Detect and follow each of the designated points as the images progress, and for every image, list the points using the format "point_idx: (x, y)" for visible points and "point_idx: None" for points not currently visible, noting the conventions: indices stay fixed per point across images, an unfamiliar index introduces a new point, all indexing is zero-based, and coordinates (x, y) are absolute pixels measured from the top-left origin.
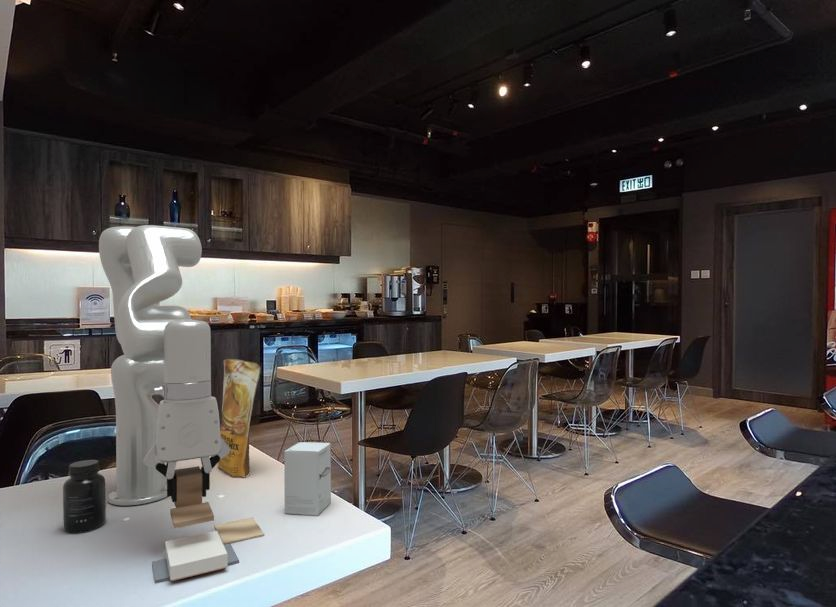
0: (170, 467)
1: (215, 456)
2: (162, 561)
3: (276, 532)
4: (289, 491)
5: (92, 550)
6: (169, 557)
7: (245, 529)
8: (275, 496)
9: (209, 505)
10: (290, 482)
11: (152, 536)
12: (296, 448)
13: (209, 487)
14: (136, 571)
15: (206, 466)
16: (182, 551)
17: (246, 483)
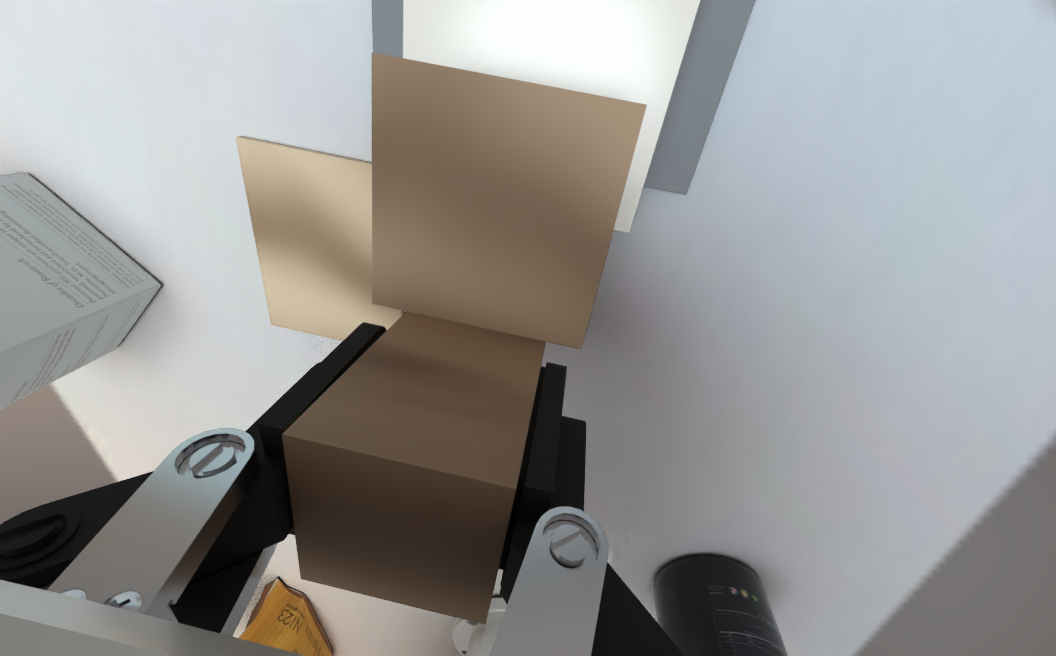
0: (559, 636)
1: (7, 576)
2: (656, 161)
3: (192, 133)
4: (41, 305)
5: (770, 444)
6: None
7: (304, 238)
8: (197, 430)
9: (373, 248)
10: None
11: (590, 416)
12: None
13: (316, 366)
14: (758, 168)
15: (196, 490)
16: (613, 23)
17: (276, 549)
